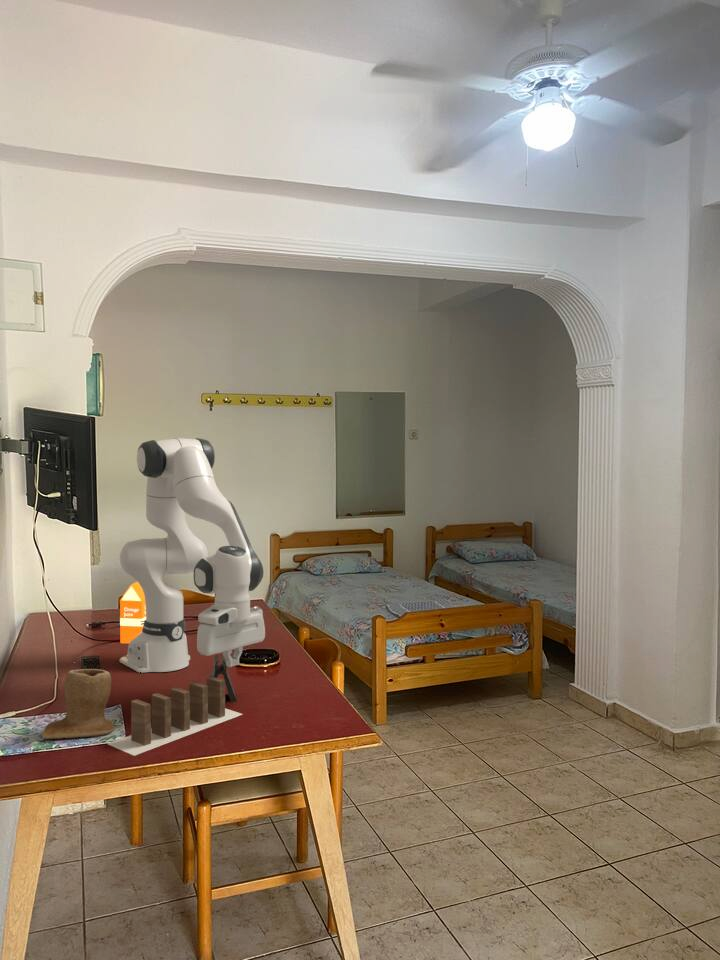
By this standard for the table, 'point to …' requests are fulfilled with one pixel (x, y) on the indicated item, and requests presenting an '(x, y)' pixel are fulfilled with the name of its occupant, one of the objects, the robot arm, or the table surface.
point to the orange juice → (132, 613)
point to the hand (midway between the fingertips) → (232, 665)
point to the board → (157, 741)
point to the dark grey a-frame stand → (222, 670)
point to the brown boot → (83, 706)
